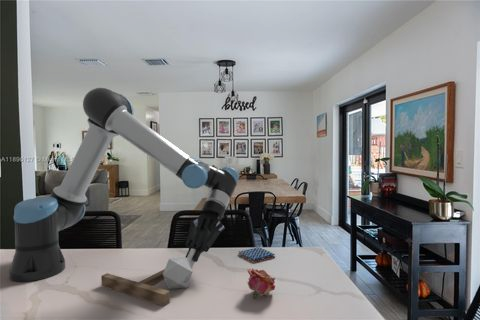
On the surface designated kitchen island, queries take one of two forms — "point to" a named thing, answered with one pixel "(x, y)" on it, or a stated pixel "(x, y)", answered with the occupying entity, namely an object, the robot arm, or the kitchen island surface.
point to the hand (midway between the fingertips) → (186, 270)
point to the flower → (260, 282)
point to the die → (177, 273)
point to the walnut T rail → (139, 287)
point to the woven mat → (256, 254)
